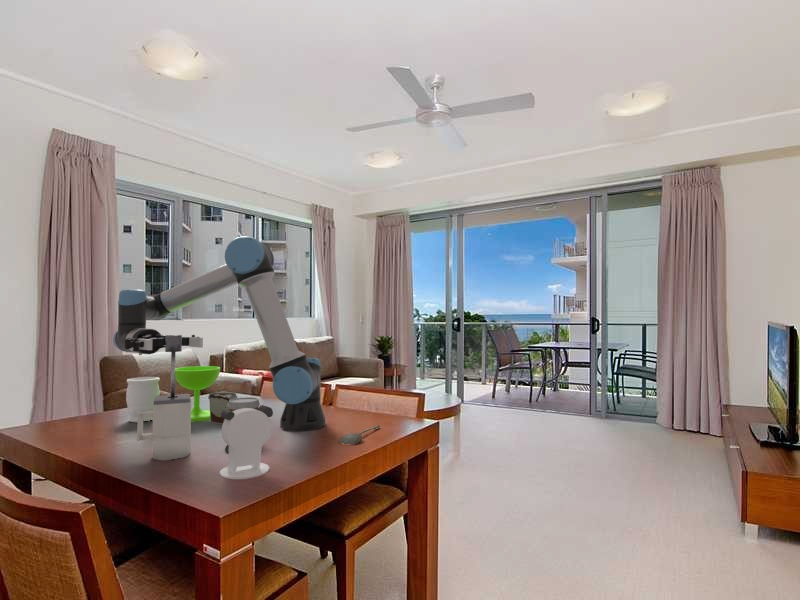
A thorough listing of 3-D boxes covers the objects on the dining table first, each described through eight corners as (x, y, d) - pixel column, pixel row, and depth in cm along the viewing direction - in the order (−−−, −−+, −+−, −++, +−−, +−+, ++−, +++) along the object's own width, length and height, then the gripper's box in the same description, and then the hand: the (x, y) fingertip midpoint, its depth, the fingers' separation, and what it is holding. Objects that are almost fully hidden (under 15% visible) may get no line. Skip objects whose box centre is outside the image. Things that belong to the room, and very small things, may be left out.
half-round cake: (245, 422, 164) (245, 393, 164) (230, 425, 159) (230, 396, 159) (222, 418, 170) (223, 390, 171) (207, 421, 165) (208, 393, 166)
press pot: (189, 448, 131) (190, 393, 132) (190, 457, 123) (191, 398, 123) (138, 454, 126) (139, 396, 126) (135, 464, 117) (136, 402, 118)
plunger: (180, 397, 128) (181, 334, 129) (180, 399, 125) (181, 335, 125) (164, 398, 126) (165, 335, 127) (164, 400, 123) (165, 335, 123)
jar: (165, 417, 172) (165, 376, 172) (147, 423, 161) (148, 380, 162) (138, 416, 173) (139, 376, 173) (118, 423, 162) (119, 380, 163)
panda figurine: (259, 460, 121) (260, 402, 121) (280, 471, 112) (280, 408, 113) (212, 470, 113) (213, 408, 113) (230, 482, 104) (231, 415, 105)
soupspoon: (334, 447, 136) (353, 451, 134) (334, 436, 136) (354, 439, 134) (370, 428, 156) (387, 431, 154) (370, 418, 156) (387, 421, 154)
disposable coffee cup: (266, 437, 144) (266, 398, 144) (246, 445, 135) (246, 403, 135) (240, 434, 147) (240, 396, 147) (219, 442, 138) (220, 401, 138)
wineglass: (164, 417, 171) (165, 368, 172) (206, 411, 183) (207, 365, 184) (185, 424, 161) (186, 372, 162) (227, 416, 173) (228, 368, 174)
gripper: (185, 351, 148) (220, 354, 134) (96, 356, 129) (126, 361, 115) (186, 327, 148) (220, 328, 134) (97, 329, 129) (126, 330, 115)
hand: (177, 343), depth 125 cm, fingers open, 13 cm apart
